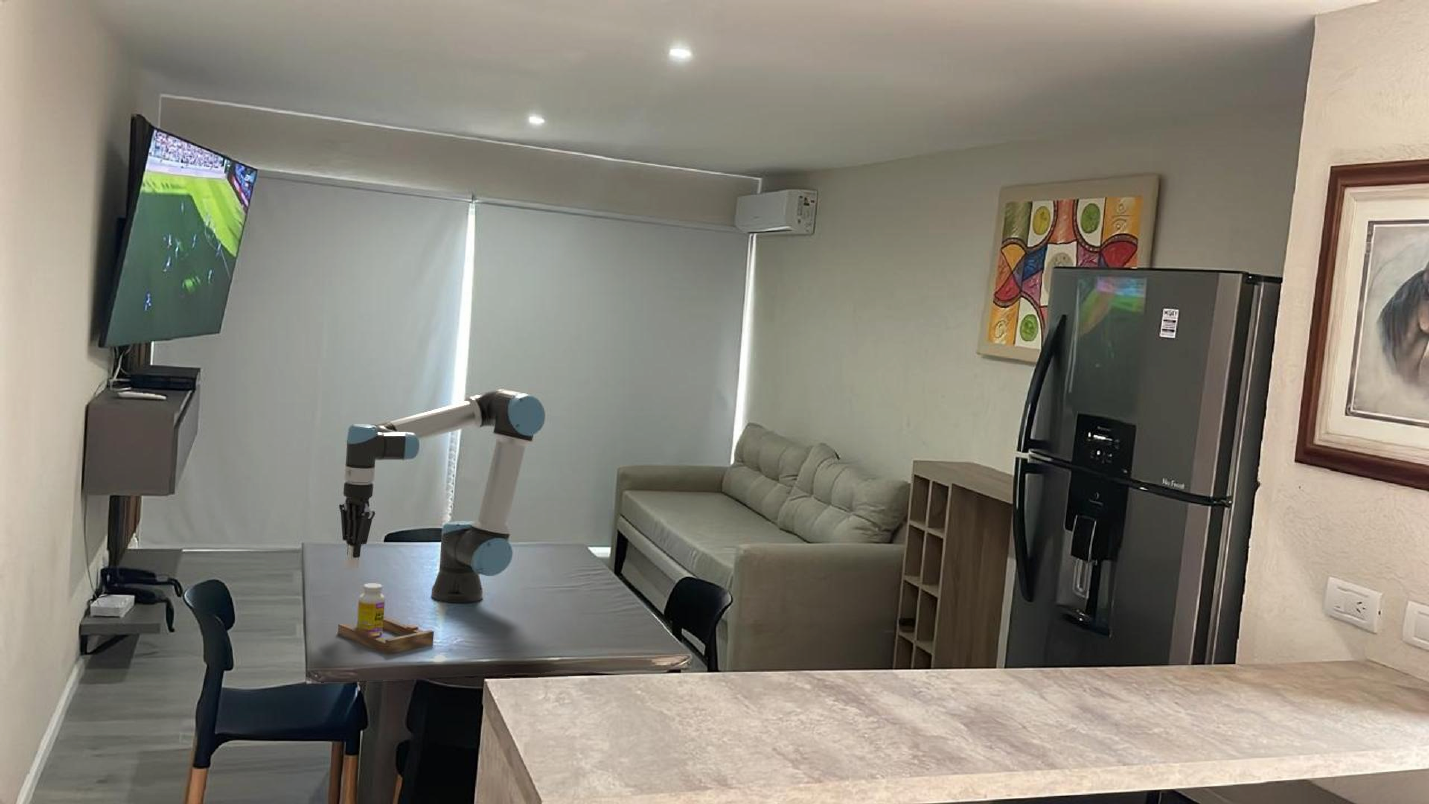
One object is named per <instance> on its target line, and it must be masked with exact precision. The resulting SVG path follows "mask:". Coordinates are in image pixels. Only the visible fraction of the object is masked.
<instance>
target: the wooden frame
mask: <svg viewBox="0 0 1429 804" xmlns="http://www.w3.org/2000/svg"><path fill="white" fill-rule="evenodd" d="M337 626H338V627H337V634H338V635H340V636H343V637H346V638H348V639H349V640H353V641H355V642H357V643H360V644H362V645H365V646H367V647H369V648H372V649H374V650H376V651H378V652H381V653H384V654H386V655H391V654H392V655H393V654H396V653H401V652H405V651H410V650H414V649H419V648H424V647H427V646H431V645H434V634H435V631H434V630H431V629H430V630H428V629H427V630H421V629H419V626H418V625H415V624H412V625H408V624H406V623H403V622H401V621H397V620H395V619H393V618H390V617H388V616H386V615H384V618H383V630H386V631H388V632H391V633H393V634H397V635H398V636H396V637H391V638H384V637H381V633H380V634H377V633H372V634H371V633H369V632H366V631H364V630H361V629H359V628H357V626H356V627H355V626H353V625H351V624H348V623H346V622H343V623H338V625H337Z"/></svg>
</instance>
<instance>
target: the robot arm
mask: <svg viewBox="0 0 1429 804" xmlns="http://www.w3.org/2000/svg"><path fill="white" fill-rule="evenodd" d="M545 421H546V411H545V408H544V406H543V404H542V402H541V401H540V400H539V398H538V397H535V396H533V395H531V394H528V393H526V392H525V393H524V392H519V391H515V390H514V391H513V390H510V389H506V388H505V389H503V388H502V389H501V388H500V389H495V390H490V391H486V392H483V393H479V394H476V395H472V396H468V397H466V398H465V400H464V401H462V402H459V403H456V404H451V405H448V406H443V407H440V408H435V409H433V410H428V411H425V412H421V413H417V414H412V415H410V416H406V417H402V418H398V419H395V420H391V421H387V422H384V423H378V424H374V423H366V424H365V423H364V424H363V423H354V424H351V425H350V426H349V428H348V430H347V438H346V456H345V470H344V472H345V473H344V480H345V482H344V483H343V497H345V501H344V503H340V504H339V505H338V508H339V511H340V518H341V519H340V520H341V534H342V535H341V536H342V537H341V538H342V541H346V545H347V551H346V555H347V557H346V569H347V570H359V567H360V556H361V550H362V549H361V548H362V545H367V543H368V539H369V534H370V530H371V527H372V523H373V522H372V521H373V519H374V518H375V516H376V511H374V510H371V508H370V501H369V500H370V498H372V497H373V496H374V495H373V494H374V483H373V482H374V481H375V466H376V461H387V460H388V461H389V460H391V461H392V460H393V461H396V460H397V461H398V460H399V461H401V460H402V461H406V460H414V459H415V458H416V457H417V456H418V454H419V453H420V441H422V440H426V439H430V438H433V437H437V436H441V435H445V434H448V433H452V432H455V431H460V430H463V429H466V428H469V427H471V428H472V429H478V428H482V427H483V428H484V427H493V432H492V434H493V436H494V438H495V439H496V441H495V446H494V450H493V454H492V459H491V462H490V467H489V471H488V476H487V480H486V483H485V489H484V490H483V491H484V492H483V497H482V501H481V504H480V508H479V513H478V517H477V519H476V520H475V521H474V520H460V521H457V520H456V521H447V522H445V523H444V524H443V525H442V529H441V534H440V535H441V540H440V552H439V553H440V555H439V566H438V567H439V569H438V571H437V572H438V573H437V575H436V578H435V581H434V584H433V585H432V587H431V593H430V595H431V598H433V599H435V600H437V601H440V602H445V603H451V604H455V603H456V604H464V603H465V604H467V603H475V602H478V601H480V600H482V599H483V587H482V583H481V579H480V575H481V576H482V575H483V576H486V577H494V576H495V577H496V576H497V575H499V574H501V573H503V572H504V571H505V570H506V569H507V568H508V567H509V566H510V564H511V562H512V560H513V547H512V546H511V543H510V542H509V539H510V535H511V531H510V529H509V528H508V522H509V521H508V520H509V517H510V514H511V510H512V505H513V500H514V496H515V492H516V487H517V483H518V481H519V480H518V479H519V476H520V470H521V466H522V462H523V459H524V454H525V450H526V447H527V446H528V445H530V444H532V442H533V440H534V439H533V438H534V436H535V435H536V434H538V432H539V431H541V430H542V429H543V426H544V424H545Z"/></svg>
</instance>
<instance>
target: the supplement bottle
mask: <svg viewBox="0 0 1429 804" xmlns="http://www.w3.org/2000/svg"><path fill="white" fill-rule="evenodd" d="M382 590H383V585H382V584H380V583H375V582H370V583H364V584H363V593H362V594H360V595H359V597H358V607H357V608H358V609H357V610H358V611H357V620H356V628H359V629H361V630H364V631H366V632H369V633H371V634H372V633H377V634H380V635H381V634H382V632H383V630H384V629H383V618H384V616H385V605H386V604H385V602H386V598H385V595H384V594H382Z"/></svg>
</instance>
